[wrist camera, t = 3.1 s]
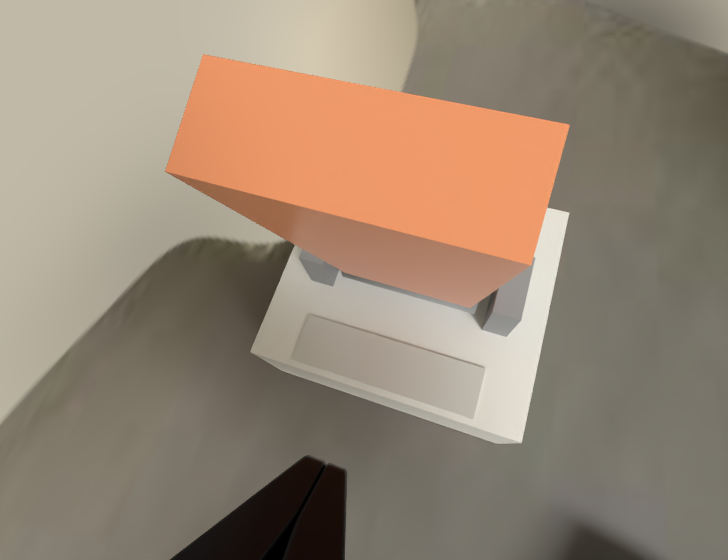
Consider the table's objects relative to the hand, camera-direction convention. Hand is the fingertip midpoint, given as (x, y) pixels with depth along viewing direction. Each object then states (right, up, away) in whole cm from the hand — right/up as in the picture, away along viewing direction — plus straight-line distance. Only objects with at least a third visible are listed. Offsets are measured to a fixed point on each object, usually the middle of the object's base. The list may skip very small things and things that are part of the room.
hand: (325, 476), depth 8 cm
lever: (+2, +4, +6) cm, 7 cm away
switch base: (+3, +2, +10) cm, 11 cm away
